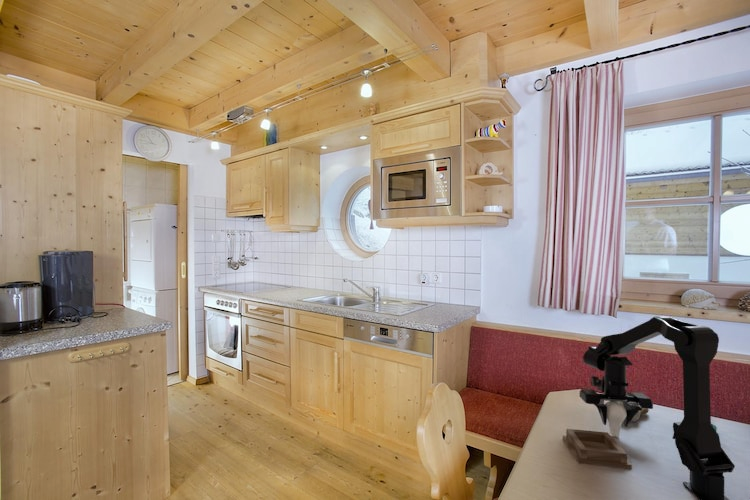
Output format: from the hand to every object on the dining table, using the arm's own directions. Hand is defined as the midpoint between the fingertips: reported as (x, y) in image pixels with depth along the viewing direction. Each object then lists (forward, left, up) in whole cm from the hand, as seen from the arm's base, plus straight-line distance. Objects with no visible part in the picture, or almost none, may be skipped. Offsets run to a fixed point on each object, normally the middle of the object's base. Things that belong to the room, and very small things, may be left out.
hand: (614, 425), depth 111 cm
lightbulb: (0, 0, -4) cm, 4 cm away
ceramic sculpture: (+17, -12, -4) cm, 21 cm away
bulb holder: (-11, +10, -4) cm, 15 cm away
